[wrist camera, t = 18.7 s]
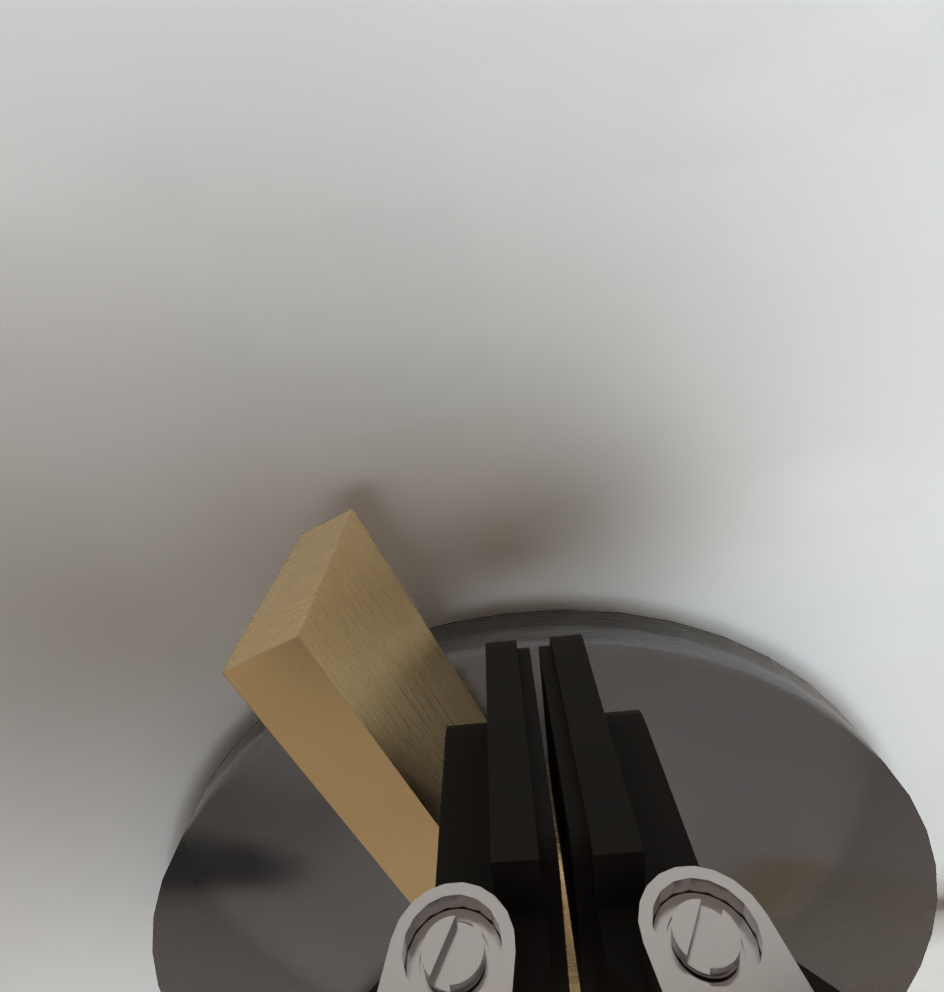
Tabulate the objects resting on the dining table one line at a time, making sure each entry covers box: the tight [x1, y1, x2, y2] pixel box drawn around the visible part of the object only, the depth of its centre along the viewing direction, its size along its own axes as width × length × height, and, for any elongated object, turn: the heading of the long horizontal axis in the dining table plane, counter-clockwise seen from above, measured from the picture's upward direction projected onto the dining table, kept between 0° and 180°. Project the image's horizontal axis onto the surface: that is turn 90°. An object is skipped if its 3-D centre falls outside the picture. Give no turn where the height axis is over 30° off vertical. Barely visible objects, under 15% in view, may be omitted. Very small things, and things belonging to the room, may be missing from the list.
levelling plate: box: [153, 610, 937, 992], centre depth 19 cm, size 24×24×3 cm
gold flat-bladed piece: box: [222, 509, 581, 992], centre depth 12 cm, size 12×4×5 cm, turn 27°
